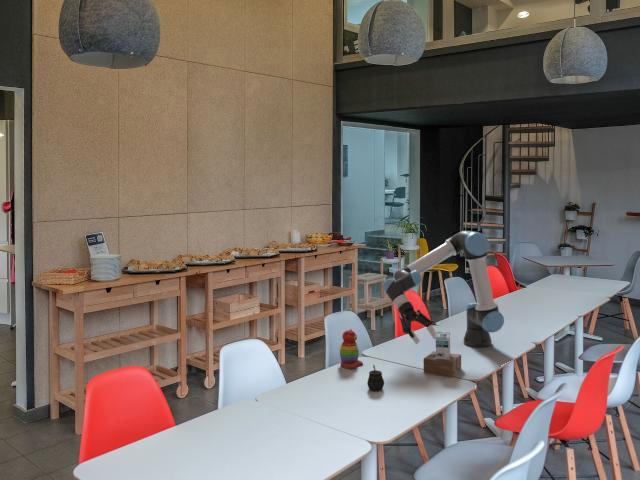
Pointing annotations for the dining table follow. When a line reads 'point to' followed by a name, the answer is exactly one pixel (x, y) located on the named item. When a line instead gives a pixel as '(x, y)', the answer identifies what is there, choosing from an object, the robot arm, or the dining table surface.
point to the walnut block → (442, 365)
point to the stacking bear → (349, 351)
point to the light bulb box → (443, 345)
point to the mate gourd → (375, 380)
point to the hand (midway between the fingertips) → (427, 340)
